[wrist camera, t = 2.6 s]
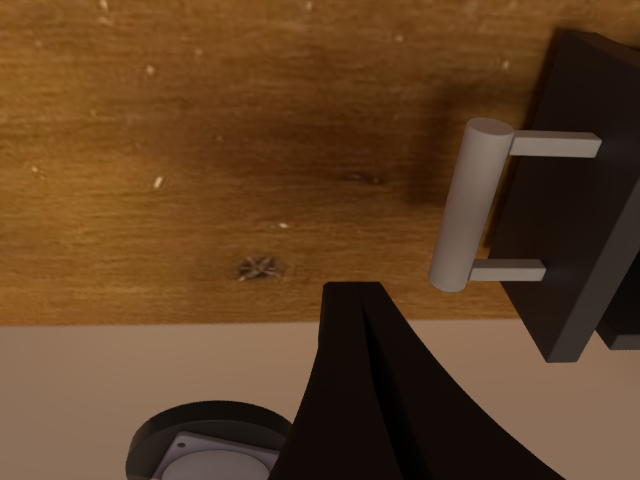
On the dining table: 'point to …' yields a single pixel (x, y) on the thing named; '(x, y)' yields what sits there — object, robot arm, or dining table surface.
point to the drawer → (558, 204)
